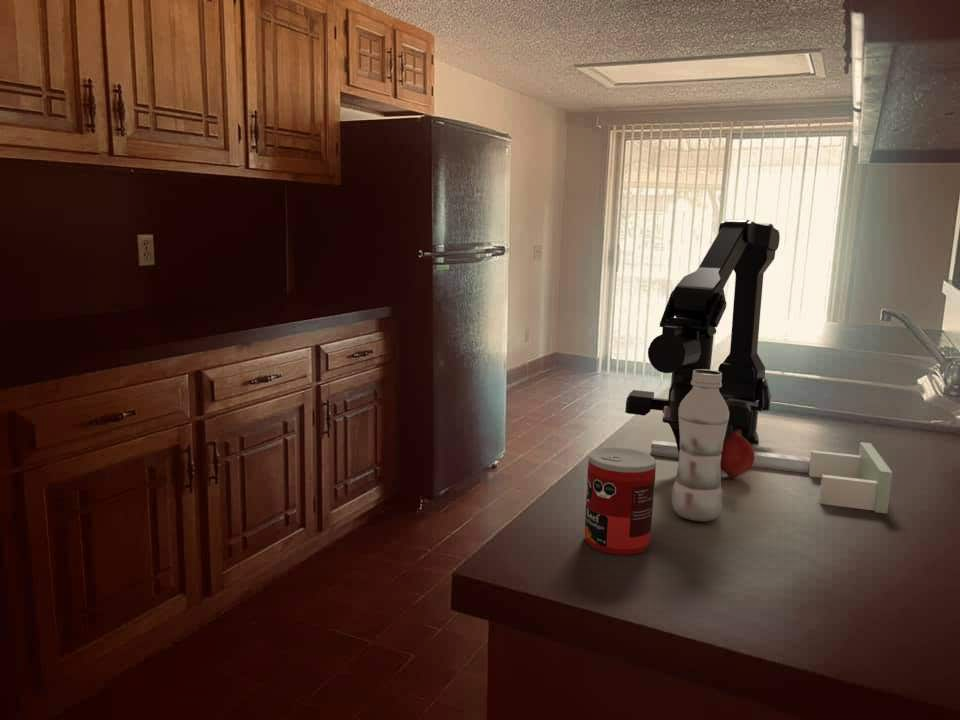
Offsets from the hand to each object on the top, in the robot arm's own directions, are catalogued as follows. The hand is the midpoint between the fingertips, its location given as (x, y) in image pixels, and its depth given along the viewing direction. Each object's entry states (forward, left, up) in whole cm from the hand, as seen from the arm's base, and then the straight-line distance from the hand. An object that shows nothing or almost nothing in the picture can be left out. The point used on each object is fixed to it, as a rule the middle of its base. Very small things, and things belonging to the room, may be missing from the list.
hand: (682, 459), depth 116 cm
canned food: (+31, -6, -2) cm, 32 cm away
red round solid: (0, +8, -2) cm, 8 cm away
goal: (0, +23, -2) cm, 23 cm away
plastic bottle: (+19, +3, -2) cm, 19 cm away
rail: (-8, +10, -2) cm, 13 cm away
